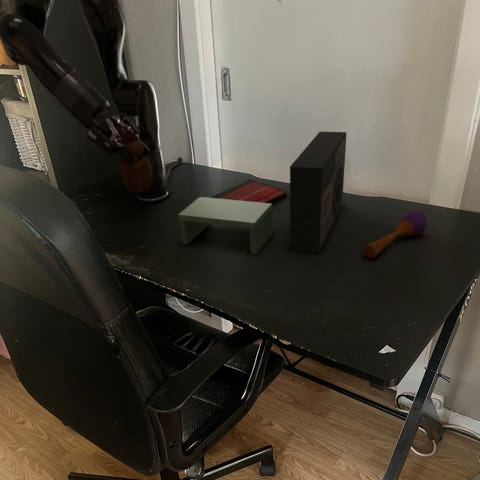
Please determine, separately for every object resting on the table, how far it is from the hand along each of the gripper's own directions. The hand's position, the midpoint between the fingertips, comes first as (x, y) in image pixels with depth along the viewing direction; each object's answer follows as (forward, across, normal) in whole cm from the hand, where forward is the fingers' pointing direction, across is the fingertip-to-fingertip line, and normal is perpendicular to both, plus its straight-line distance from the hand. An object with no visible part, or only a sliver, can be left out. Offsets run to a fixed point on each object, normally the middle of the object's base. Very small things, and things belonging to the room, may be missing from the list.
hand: (141, 158), depth 107 cm
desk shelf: (+27, +9, +5) cm, 29 cm away
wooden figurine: (+4, 0, +7) cm, 8 cm away
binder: (+25, +35, +8) cm, 44 cm away
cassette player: (+42, +21, -10) cm, 48 cm away
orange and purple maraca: (+56, +14, -23) cm, 62 cm away
